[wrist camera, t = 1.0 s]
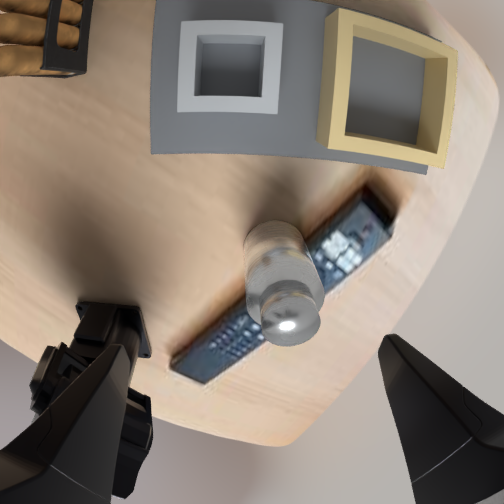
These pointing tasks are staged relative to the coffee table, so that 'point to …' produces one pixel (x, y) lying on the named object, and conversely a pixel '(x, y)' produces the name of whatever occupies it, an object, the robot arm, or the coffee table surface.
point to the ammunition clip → (44, 37)
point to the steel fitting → (282, 284)
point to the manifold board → (299, 84)
